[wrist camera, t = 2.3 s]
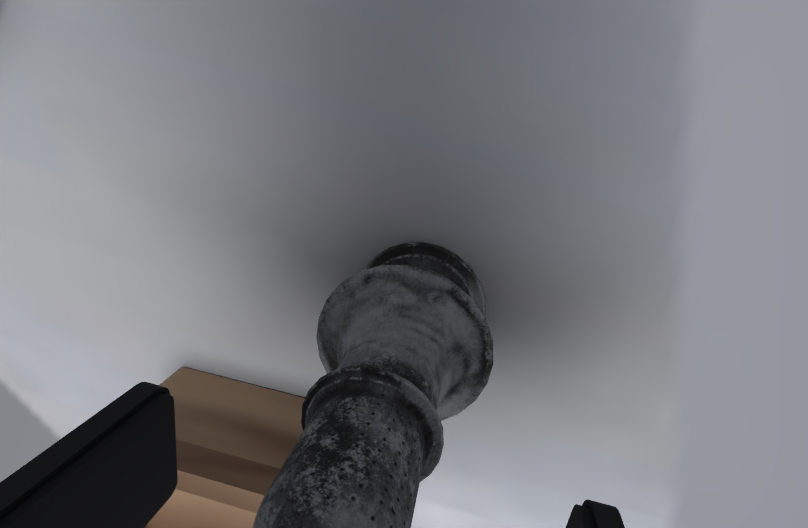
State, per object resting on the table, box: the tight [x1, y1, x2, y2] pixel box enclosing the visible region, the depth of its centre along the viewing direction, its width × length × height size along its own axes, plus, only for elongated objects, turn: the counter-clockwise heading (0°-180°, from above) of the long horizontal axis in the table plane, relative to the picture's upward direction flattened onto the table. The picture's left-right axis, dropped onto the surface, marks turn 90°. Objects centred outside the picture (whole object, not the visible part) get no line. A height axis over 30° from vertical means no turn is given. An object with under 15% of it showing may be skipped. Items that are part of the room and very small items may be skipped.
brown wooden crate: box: [144, 367, 305, 528], centre depth 19 cm, size 10×10×5 cm
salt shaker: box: [253, 243, 493, 528], centre depth 11 cm, size 6×6×12 cm
